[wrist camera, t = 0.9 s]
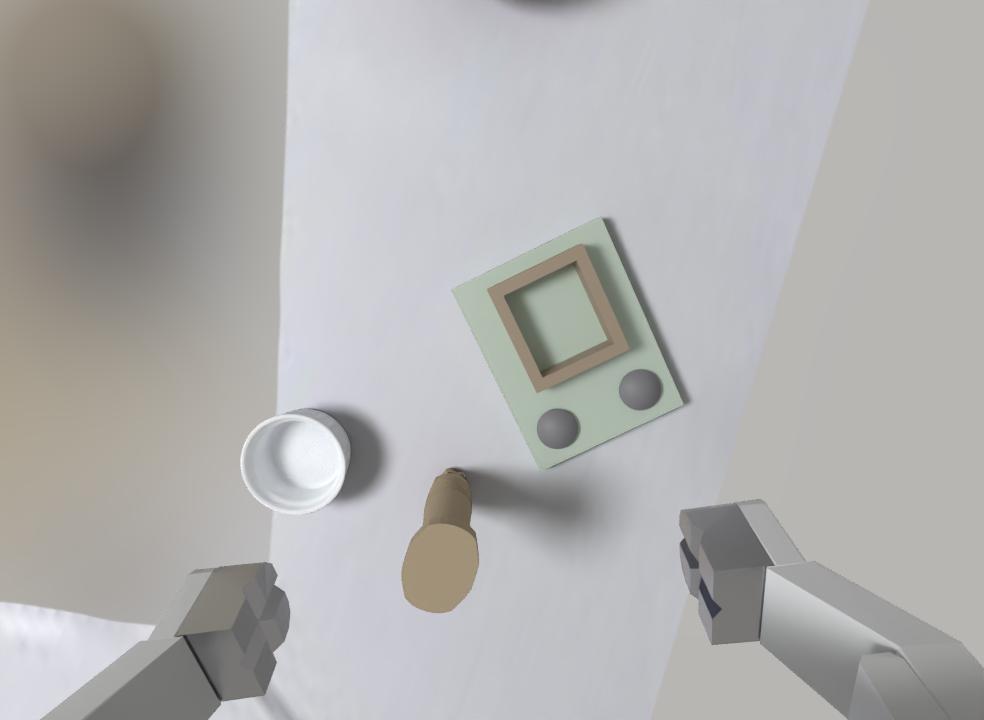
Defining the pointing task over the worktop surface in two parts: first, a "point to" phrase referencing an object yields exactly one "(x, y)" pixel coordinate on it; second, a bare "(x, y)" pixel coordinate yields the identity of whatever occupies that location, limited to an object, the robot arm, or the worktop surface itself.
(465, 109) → the worktop surface
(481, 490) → the worktop surface
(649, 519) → the worktop surface
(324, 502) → the ramekin
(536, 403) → the green board with frame
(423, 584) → the handle
